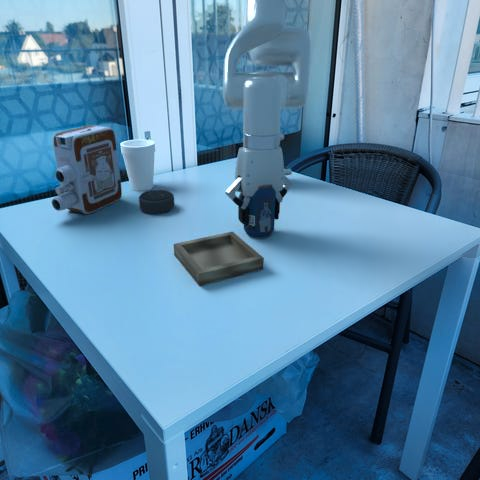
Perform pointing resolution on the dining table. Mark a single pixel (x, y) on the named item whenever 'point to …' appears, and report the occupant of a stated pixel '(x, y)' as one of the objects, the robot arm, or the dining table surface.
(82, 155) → the cine camera
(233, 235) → the taupe tray
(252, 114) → the robot arm
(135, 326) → the dining table surface
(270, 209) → the soda can
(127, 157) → the foam cup
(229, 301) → the dining table surface
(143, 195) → the smart speaker
